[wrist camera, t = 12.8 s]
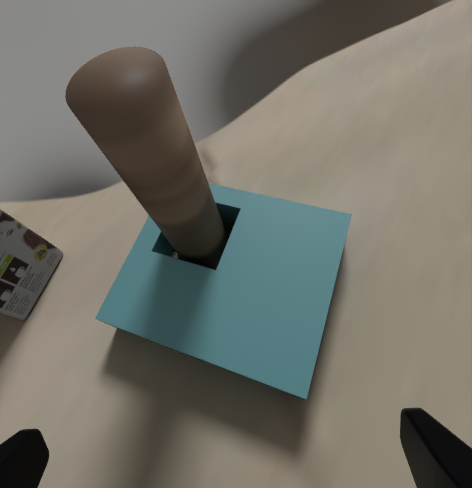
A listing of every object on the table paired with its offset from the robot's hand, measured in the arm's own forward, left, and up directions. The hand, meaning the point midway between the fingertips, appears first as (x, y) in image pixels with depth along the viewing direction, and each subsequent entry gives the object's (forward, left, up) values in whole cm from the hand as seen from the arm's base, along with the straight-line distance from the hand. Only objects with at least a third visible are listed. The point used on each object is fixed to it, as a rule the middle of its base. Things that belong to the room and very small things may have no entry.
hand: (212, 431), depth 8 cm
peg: (+10, +8, -14) cm, 18 cm away
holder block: (+8, +4, -14) cm, 16 cm away
